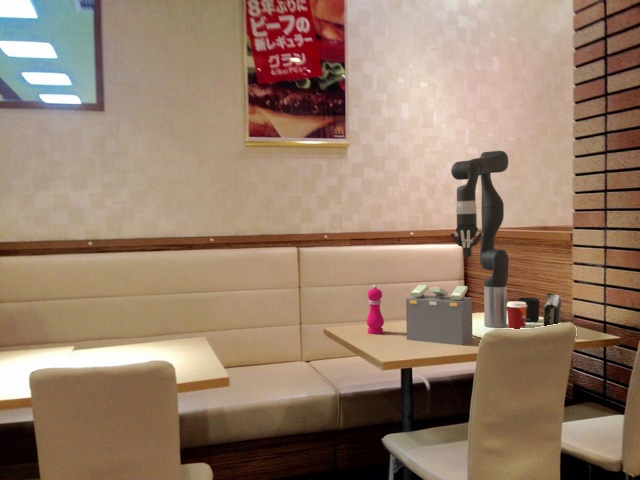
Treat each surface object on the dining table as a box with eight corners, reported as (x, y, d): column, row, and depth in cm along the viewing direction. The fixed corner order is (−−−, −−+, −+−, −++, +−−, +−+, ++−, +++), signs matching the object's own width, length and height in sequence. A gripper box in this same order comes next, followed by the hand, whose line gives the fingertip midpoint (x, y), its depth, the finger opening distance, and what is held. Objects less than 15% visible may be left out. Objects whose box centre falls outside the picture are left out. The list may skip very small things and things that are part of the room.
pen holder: (512, 320, 262) (512, 298, 262) (528, 318, 266) (528, 297, 266) (528, 323, 254) (528, 301, 253) (544, 321, 258) (544, 299, 257)
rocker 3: (458, 289, 225) (457, 285, 224) (467, 289, 223) (467, 285, 222) (450, 299, 218) (450, 295, 217) (460, 300, 216) (460, 295, 215)
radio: (556, 339, 220) (555, 301, 220) (532, 337, 225) (532, 299, 224) (567, 329, 240) (567, 293, 239) (545, 327, 244) (545, 292, 244)
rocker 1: (419, 288, 233) (419, 284, 233) (428, 288, 231) (427, 284, 231) (411, 296, 226) (410, 292, 226) (420, 296, 224) (419, 292, 224)
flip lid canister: (528, 340, 219) (528, 304, 219) (507, 340, 221) (507, 303, 220) (525, 336, 227) (525, 301, 226) (505, 336, 228) (505, 300, 228)
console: (419, 333, 236) (418, 292, 236) (472, 338, 225) (472, 294, 224) (406, 339, 225) (405, 296, 224) (461, 345, 214) (461, 299, 213)
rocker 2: (438, 295, 229) (438, 291, 229) (447, 295, 227) (447, 291, 227) (430, 291, 221) (430, 286, 222) (439, 291, 219) (440, 287, 220)
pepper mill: (386, 331, 242) (385, 284, 241) (380, 334, 235) (380, 286, 235) (370, 330, 245) (369, 283, 244) (364, 333, 238) (363, 285, 238)
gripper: (486, 212, 223) (487, 256, 224) (453, 213, 231) (454, 256, 231) (480, 212, 217) (481, 258, 218) (446, 213, 224) (447, 257, 225)
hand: (467, 257), depth 225 cm, fingers closed
